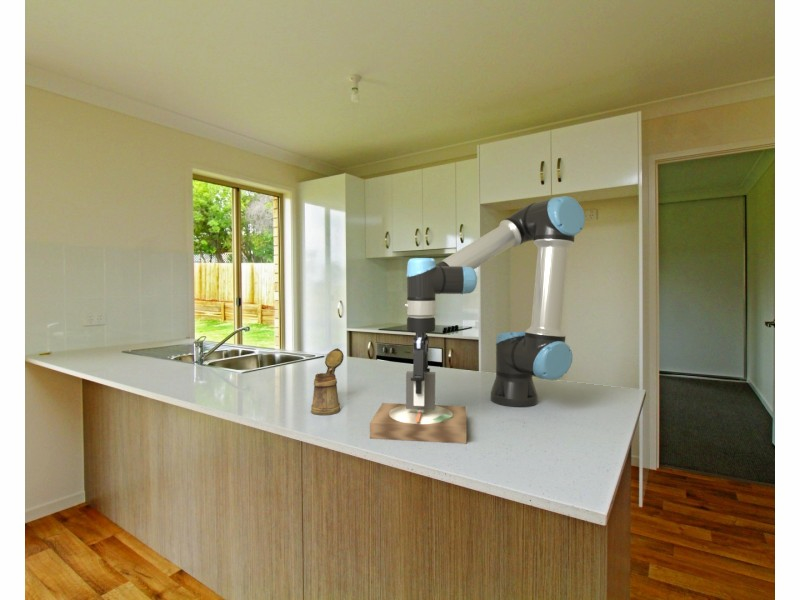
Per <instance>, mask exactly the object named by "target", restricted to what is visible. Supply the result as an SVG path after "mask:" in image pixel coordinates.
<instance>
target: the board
mask: <svg viewBox="0 0 800 600" xmlns="http://www.w3.org/2000/svg"><path fill="white" fill-rule="evenodd" d="M417 415H418V413H417V409H406V403H396V402H395V403H392V402H382V403H381V405H380V406H379V408H378V409H377V411H376V413H375V414H374V416H373V417H372V419H371V420H370V421H369V439H376V440H377V439H378V440H393V441H411V442H412V441H413V442H430V443H431V442H433V443H449V444H467V408H466V406H464V405H463V406H462V405H443V404H441V405H440V404H438V405H437V404H435V410H424V413H423V414H421V416H420V420H419V422H416V418H417Z"/></svg>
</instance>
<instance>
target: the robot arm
mask: <svg viewBox="0 0 800 600" xmlns="http://www.w3.org/2000/svg"><path fill="white" fill-rule="evenodd" d="M585 215H586V214H585V212H584V209H583V207H582V206H581V205H580V203H579V201H578V200H576V199H575V198H574V197H571V196H566V195H563V196H553V197H551V198H549V199H544V200H541V201H540V200H539V201H537V202H532V203H530V204H527V205H525V206H524V207H522V208H520V209H519V210H517V211H515V212H514V213H513V214H511V215H509V216H508V217H507V218H505V219H503V220H501V221H500V223H498V227H496V228H494V229H492V230H490V231H489V232H487V233H486V234H484V235H482V236H481V237H479V238H477V239H476V240H474V241H473V242H471V243H469V244H467V245H465V246H464V247H462V248H461V249H459V250H458V251H456V252H454V253H452V254H451V255H449V256H447V257H446V258H444V259H442V260H441V261H439V262H437V263H436V259H435V258H433V257H431V258H430V257H414V258H413V257H412V258H410V259H408V261H407V266H406V300H407V301H406V303H405V304H404V307H405V308H406V311H407V312H406V314H407V316H408V317H407V318H406V330H407V332H409V333H410V332H411V333H415V337H413V339H412V345H413V349H412V350H413V351H412V353H413V362H412V363H413V367H412V370H413V378H411V381H414V406H424V372H431V368H429V365H428V361H429V359H428V352H429V344H430V343H429V341H430V338H429V335H428V334H427V333H433V332H435V330H436V318H435V317H434V316H435V315H436V304H437V303H436V295H440V294H443V295H445V294H446V295H448V294H449V295H465V294H471V293H473V292H474V291H475V289H476V288H477V285H478V284H477V283H478V282H477V281H478V277H477V273H476V271H475V269H477V268H479V267H480V266H482V265H483V264H486V263H487V262H489V261H490V260H492V259H493V258H495V257H497V256H498V255H500V254H501V253H503V252H505V251H507V250H508V249H509V248H517V247H519V246H520V245H522V244H525V243H527V242H532V241H533V244H534V245H535V246H536V247H537V256H536V266H535V279H534V288H533V289H534V290H533V301H532V311H531V323H530V327H528V328H527V329H526V330H525V331H507V332H504V331H503V332H499V333H498V334H497V335H496V341H495V346H496V349H495V353H496V355H495V356H496V357H495V378H494V382H493V385H492V388H491V390H490V401H491V402H493V403H494V404H498V405H501V406H508V407H519V408H521V407H522V408H523V407H525V408H526V407H532V406H535V405H537V404H538V393H537V390H536V389H537V388H536V386H535V383H534V380H533V377H536V378H538V379H540V380H548V381H556V380H560V379H561V378H563V377H564V375H565V374H567V373H568V371H569V369H571V365H572V363H573V351H572V349H571V348H570V346H569V345H568V344H567V343H566V336H567V335H566V334H565V333H564V332H563V330H562V318H563V307H564V298H565V297H564V296H565V286H566V274H567V264H568V253H569V249H570V248H571V247H573V245H574V244H575V239H576V236H577V235H578V234H579V233H580V232H581V231H582V230H583V229H584V227H585V223H586V216H585Z"/></svg>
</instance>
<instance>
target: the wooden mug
mask: <svg viewBox="0 0 800 600" xmlns="http://www.w3.org/2000/svg"><path fill="white" fill-rule="evenodd" d="M326 354H327V355H326V357H325V361H324V363H325V367H327V369H326V370H327V371H326V372H325V373H324V372H322V373H321V372H320V373H317V374H315V375H314V376H315V378H314V380H313V386H314V387H313V396H312V404H311V407H310V408H311V409H310V413H311V414H313V415H319V416H330V415H335V414H337V413H340V411H341V404H340V402H339V394H338V393H339V392H338V386H337V384H338V379H337V378H336V374H335V371H336V369H337V368H339V366H341V365H342V364H343V361H344V357H345V356H344V352H343V351H342V350H341V349H339V348H335V349H332V350H331V351H330V352H328V353H326Z"/></svg>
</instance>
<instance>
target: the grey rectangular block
mask: <svg viewBox="0 0 800 600" xmlns="http://www.w3.org/2000/svg"><path fill="white" fill-rule="evenodd" d="M405 378H406V380H405V404H406V409H417V413H418V415H417V418H416V422H419V420H420V416H421V414H423V413H424V410H435V405H436V371H430V372H424V406H414V381H411V378H413V371H409V370H407V371H406V373H405Z"/></svg>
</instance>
